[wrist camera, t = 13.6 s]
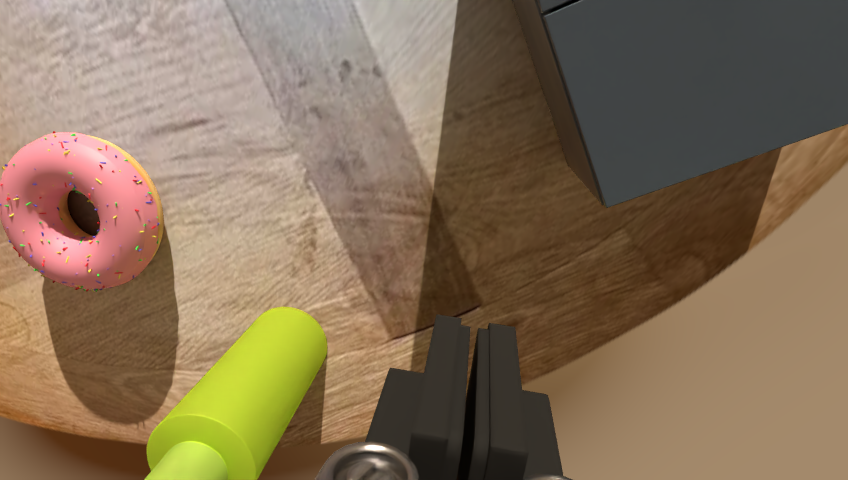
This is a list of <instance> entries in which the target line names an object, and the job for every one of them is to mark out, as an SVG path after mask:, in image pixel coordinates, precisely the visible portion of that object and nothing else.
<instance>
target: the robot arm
mask: <svg viewBox="0 0 848 480" xmlns="http://www.w3.org/2000/svg"><path fill="white" fill-rule="evenodd" d="M469 342H470V327H469V326H463V325H461V318H456V317H450V316H443V315H436V319H435V324H434V328H433V333H432V338H431V343H430V347H429V352H428V357H427V361H426V366H425V371H424V373H418V372H412V371H407V370H401V369H395V368H390V369H389V371H388V374H387V377H386V380H385V383H384V386H383V389H382V392H381V395H380V398H379V401H378V404H377V407H376V410H375V413H374V416H373V419H372V422H371V426H370V429H369V432H368V435H367V438H366V441H365V442H358V443H355V444H351V445H348V446H345V447H343V448H341V449H339V450H338V451H336V452H334V454H333V455H332V456H331V457H330V458H329V459H328V460H327V461H326V463H325V464H324V466H323V467H322V469H321V470H320V472H319V473H318V475H317V476H316V478H315V479H314V480H572V479H569V478H567V477H564V476H563V472H562V466H561V461H560V456H559V451H558V445H557V439H556V434H555V429H554V423H553V418H552V413H551V407H550V402H549V398H548V395H546V394H542V393H535V392H530V391H524V390H522V385H521V376H520V367H519V357H518V348H517V339H516V330H515V327H511V326H505V325H499V324H493V323H489V325H488V329H481V328H478V332H477V337H476V343H475V349H474V355H473V361H472V366H471V372H470V378H469V384H468V390H467V396H466V386H467V371H468V356H469Z"/></svg>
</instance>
